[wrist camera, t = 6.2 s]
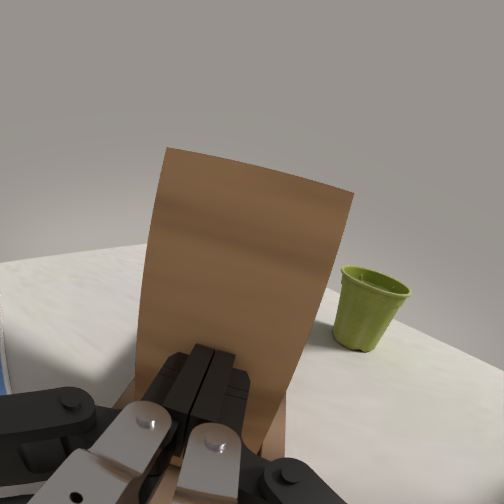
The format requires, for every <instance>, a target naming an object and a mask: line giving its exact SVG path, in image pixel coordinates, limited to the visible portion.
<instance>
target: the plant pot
mask: <svg viewBox="0 0 504 504" xmlns="http://www.w3.org/2000/svg"><path fill="white" fill-rule="evenodd" d="M341 272H342V274H343V275H342V281H341V284H342V290H341V294H340V300H339V305H338V310H337V314H336V319H335V323H334V327H333V334H334V338H335V339H336V340H337V341H338V342H339V343H340V344H342V345H343V346H345V347H347V348H349V349H360V350H362V351H363V352H368V351H371V350H373V349H374V348H375V346H376V345H377V343H378V342H379V340H380V338H381V337H382V335H383V334H384V332H385V330H386V329H387V327H388V325H389V324H390V322H391V320H392V319H393V317H394V315H395V314H396V312H397V310H398V309H399V307H400V306H402V304H403V303H404V301H405V300H406V298H407V297H410V295H411V294H412V291H411V290H410V288H409V287H407V286H406V285H405V284H403V283H401V282H400V281H398V280H396V279H394V278H392V277H390V276H387V275H385V274H382V273H380V272H377V271H374V270H371V269H367V268H363V267H358V266H351V265H349V266H348V265H346V266H343V267H342V268H341Z"/></svg>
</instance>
